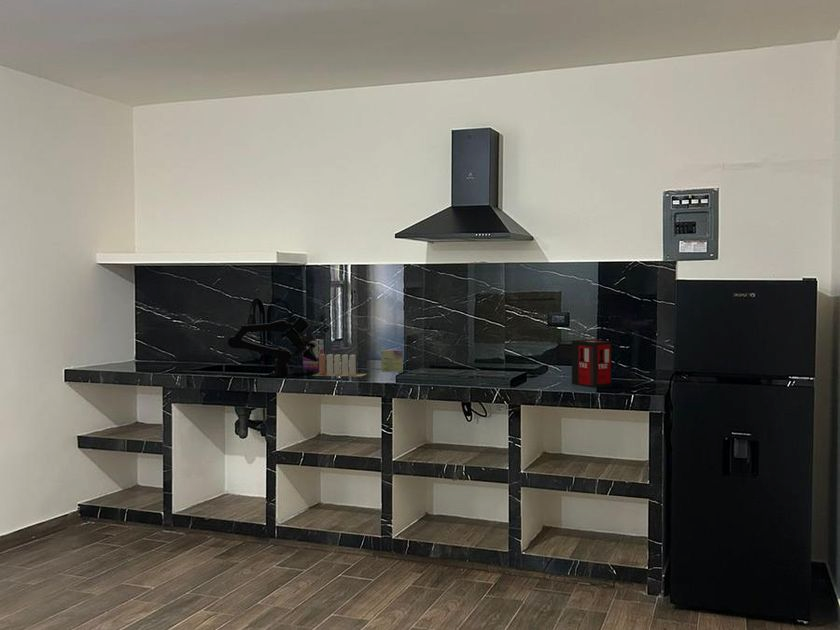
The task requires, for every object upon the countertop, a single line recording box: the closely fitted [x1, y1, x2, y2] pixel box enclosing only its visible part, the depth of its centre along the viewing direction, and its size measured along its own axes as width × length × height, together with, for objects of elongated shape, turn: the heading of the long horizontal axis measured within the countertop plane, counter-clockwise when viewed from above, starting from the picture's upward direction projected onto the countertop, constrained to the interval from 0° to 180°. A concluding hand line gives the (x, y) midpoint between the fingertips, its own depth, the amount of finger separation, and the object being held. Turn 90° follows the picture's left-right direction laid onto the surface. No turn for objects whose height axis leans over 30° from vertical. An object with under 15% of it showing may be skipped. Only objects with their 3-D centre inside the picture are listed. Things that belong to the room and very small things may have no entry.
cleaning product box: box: [571, 339, 613, 389], centre depth 372 cm, size 16×9×20 cm, turn 30°
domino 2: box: [325, 353, 334, 375], centre depth 413 cm, size 2×5×10 cm, turn 167°
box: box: [380, 349, 403, 374], centre depth 426 cm, size 10×6×12 cm, turn 100°
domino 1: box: [318, 353, 327, 375], centre depth 414 cm, size 2×5×10 cm, turn 168°
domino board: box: [311, 372, 367, 378], centre depth 412 cm, size 26×10×1 cm, turn 77°
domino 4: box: [341, 353, 349, 377], centre depth 411 cm, size 2×5×10 cm, turn 167°
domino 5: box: [348, 354, 357, 377], centre depth 410 cm, size 2×5×10 cm, turn 167°
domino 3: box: [333, 353, 342, 375], centre depth 412 cm, size 2×5×10 cm, turn 167°
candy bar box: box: [302, 338, 325, 371], centre depth 444 cm, size 11×5×16 cm, turn 62°
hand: (316, 361), depth 415 cm, fingers closed
